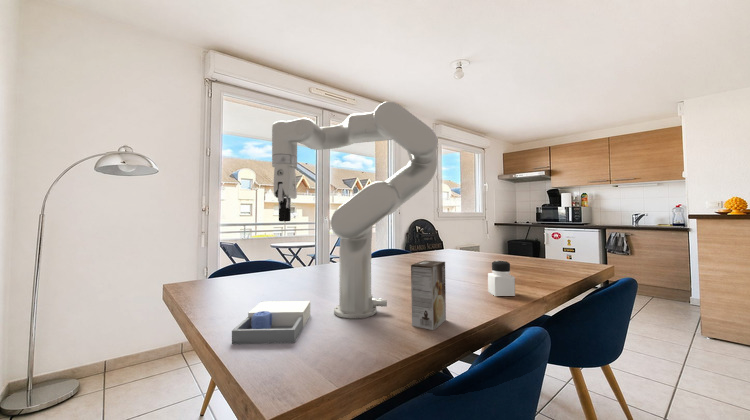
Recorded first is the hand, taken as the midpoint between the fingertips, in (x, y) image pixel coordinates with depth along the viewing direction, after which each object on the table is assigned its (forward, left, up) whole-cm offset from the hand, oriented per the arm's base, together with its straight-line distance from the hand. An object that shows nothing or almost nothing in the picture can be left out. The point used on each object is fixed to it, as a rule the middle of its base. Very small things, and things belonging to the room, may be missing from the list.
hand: (284, 221), depth 94 cm
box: (-2, +21, -27) cm, 34 cm away
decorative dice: (+1, +17, -24) cm, 30 cm away
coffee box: (-42, +14, -27) cm, 52 cm away
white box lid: (-2, +11, -27) cm, 29 cm away
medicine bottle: (-74, -14, -27) cm, 80 cm away
